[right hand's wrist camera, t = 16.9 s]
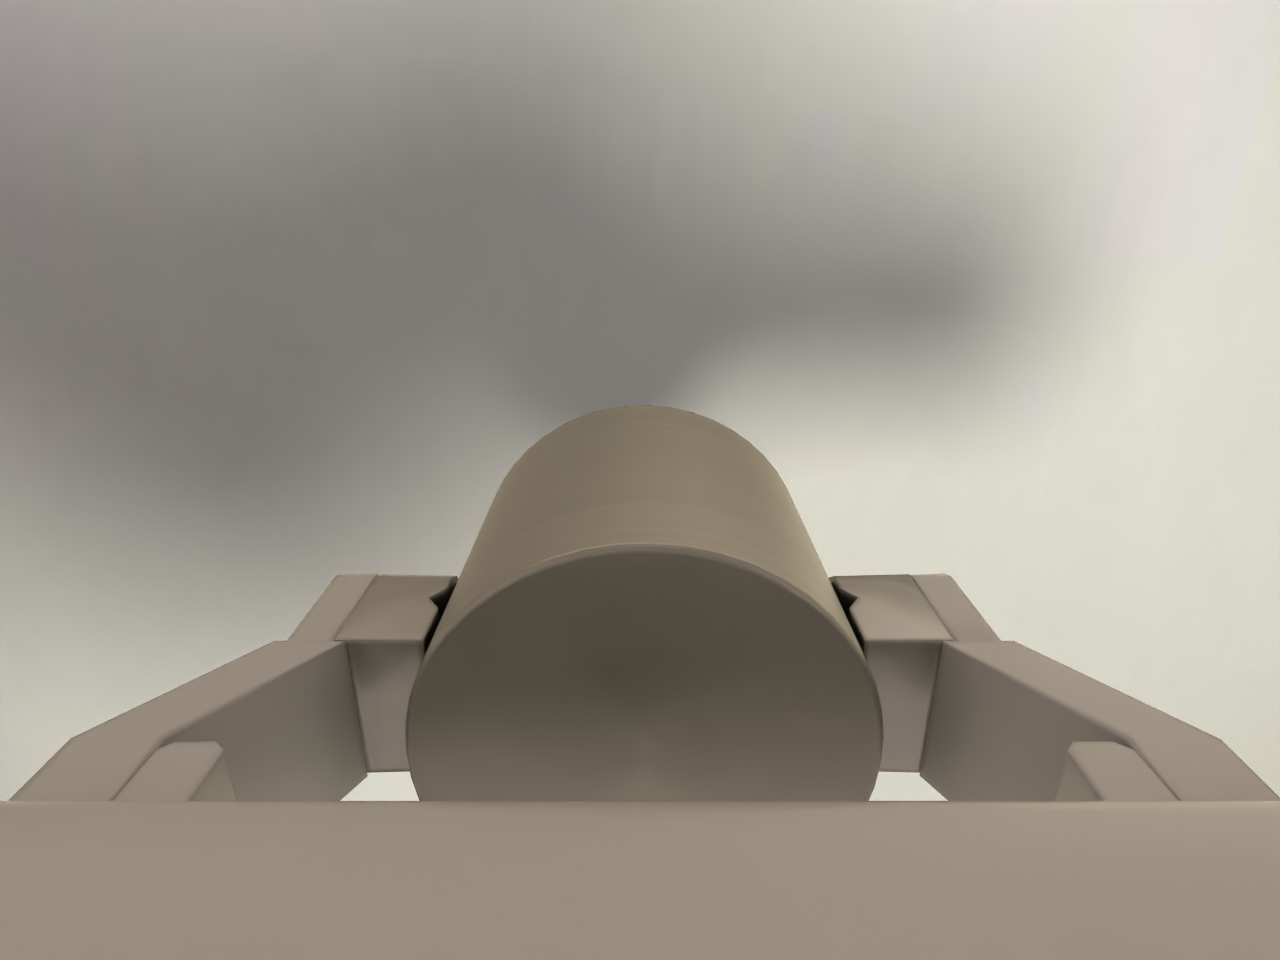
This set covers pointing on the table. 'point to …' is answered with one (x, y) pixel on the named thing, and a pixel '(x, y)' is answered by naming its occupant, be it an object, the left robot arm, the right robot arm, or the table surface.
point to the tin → (643, 633)
